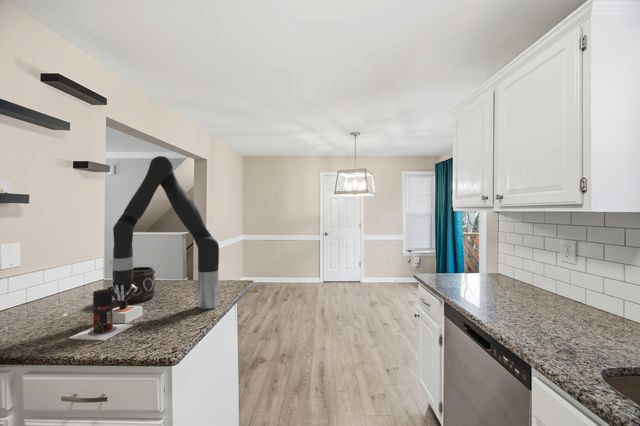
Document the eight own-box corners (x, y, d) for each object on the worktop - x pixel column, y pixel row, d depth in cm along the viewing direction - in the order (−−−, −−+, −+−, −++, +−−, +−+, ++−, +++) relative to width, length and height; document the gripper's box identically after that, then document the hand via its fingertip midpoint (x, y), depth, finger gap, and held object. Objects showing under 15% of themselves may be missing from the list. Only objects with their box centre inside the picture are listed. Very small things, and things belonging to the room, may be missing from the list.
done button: (133, 313, 132) (133, 306, 132) (124, 317, 127) (124, 310, 127) (122, 313, 133) (122, 306, 133) (113, 317, 128) (113, 310, 128)
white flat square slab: (133, 325, 122) (133, 324, 122) (104, 340, 108) (104, 339, 108) (101, 324, 123) (101, 323, 123) (69, 338, 109) (69, 337, 109)
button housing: (142, 315, 134) (142, 306, 134) (125, 323, 124) (125, 313, 124) (121, 314, 135) (121, 305, 135) (103, 322, 125) (103, 312, 125)
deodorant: (99, 327, 118) (99, 289, 118) (115, 327, 119) (115, 288, 119) (89, 333, 112) (89, 293, 112) (106, 333, 113) (106, 293, 113)
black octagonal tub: (163, 297, 161) (163, 268, 161) (127, 307, 146) (126, 274, 146) (145, 293, 171) (145, 265, 171) (109, 301, 156) (109, 270, 156)
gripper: (143, 267, 133) (143, 306, 133) (115, 266, 134) (116, 305, 134) (130, 270, 125) (130, 312, 125) (101, 269, 127) (101, 310, 127)
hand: (123, 308), depth 130 cm, fingers closed
